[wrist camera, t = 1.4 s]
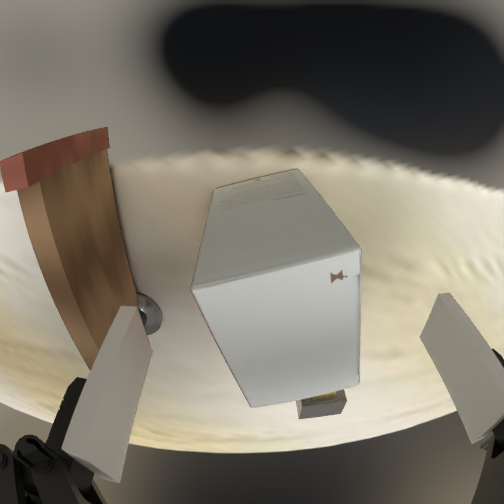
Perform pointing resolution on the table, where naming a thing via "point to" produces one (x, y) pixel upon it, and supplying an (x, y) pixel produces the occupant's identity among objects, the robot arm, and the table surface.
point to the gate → (75, 232)
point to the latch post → (321, 405)
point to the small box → (280, 289)
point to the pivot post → (149, 314)
